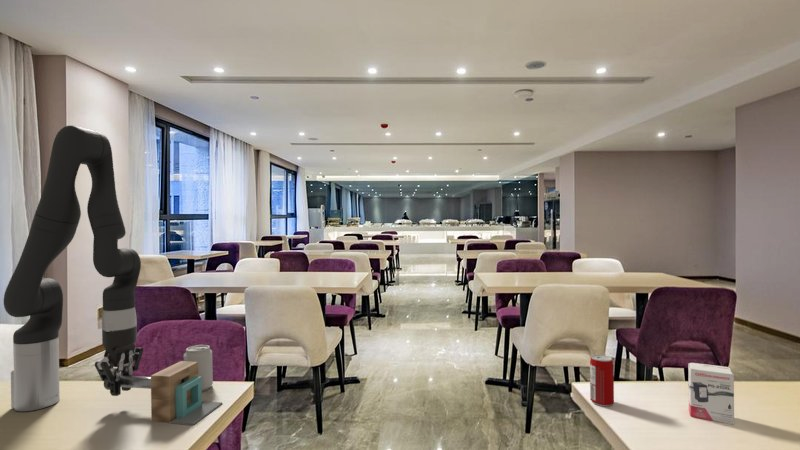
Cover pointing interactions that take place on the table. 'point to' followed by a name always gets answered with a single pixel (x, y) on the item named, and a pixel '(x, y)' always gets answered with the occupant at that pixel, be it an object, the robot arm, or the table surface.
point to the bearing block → (169, 389)
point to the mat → (197, 413)
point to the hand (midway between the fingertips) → (121, 392)
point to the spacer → (181, 396)
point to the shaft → (133, 382)
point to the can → (201, 363)
